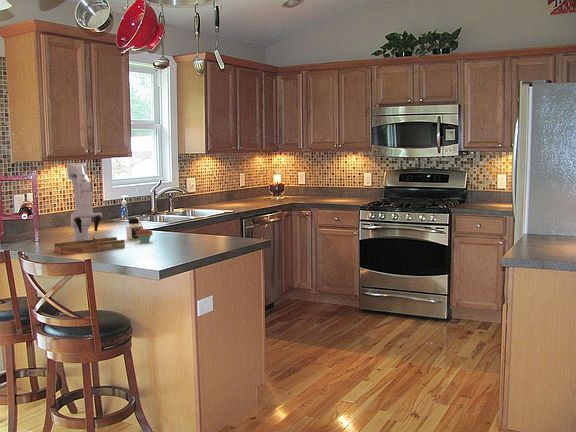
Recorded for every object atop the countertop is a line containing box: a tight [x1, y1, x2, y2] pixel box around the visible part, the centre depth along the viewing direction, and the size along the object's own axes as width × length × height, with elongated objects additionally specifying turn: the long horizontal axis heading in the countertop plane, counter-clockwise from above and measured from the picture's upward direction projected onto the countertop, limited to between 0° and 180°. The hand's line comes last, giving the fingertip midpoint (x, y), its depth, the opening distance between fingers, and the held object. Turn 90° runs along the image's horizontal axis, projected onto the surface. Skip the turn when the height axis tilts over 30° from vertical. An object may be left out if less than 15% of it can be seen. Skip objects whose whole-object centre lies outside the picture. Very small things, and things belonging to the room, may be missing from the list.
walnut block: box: [92, 235, 109, 243], centre depth 329 cm, size 6×6×3 cm
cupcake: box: [136, 221, 153, 243], centre depth 347 cm, size 9×8×12 cm
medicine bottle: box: [125, 216, 144, 241], centre depth 360 cm, size 7×7×12 cm
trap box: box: [53, 236, 126, 256], centre depth 327 cm, size 14×32×4 cm, turn 122°
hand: (88, 231), depth 322 cm, fingers open, 7 cm apart
